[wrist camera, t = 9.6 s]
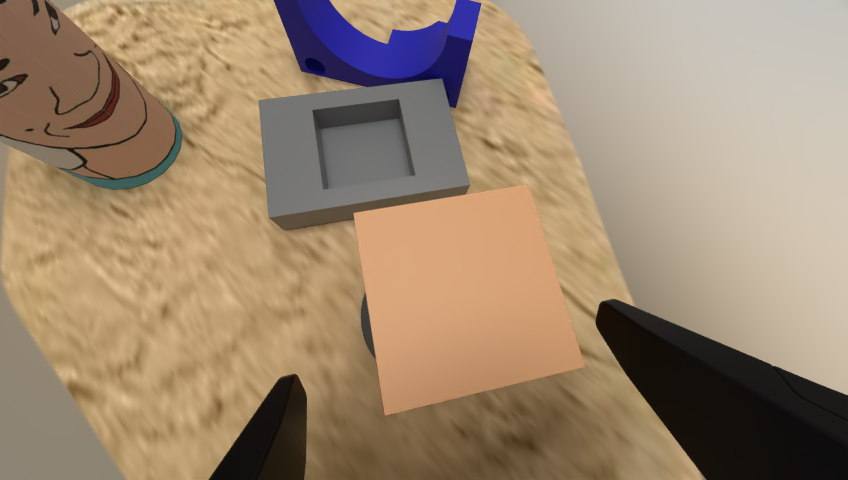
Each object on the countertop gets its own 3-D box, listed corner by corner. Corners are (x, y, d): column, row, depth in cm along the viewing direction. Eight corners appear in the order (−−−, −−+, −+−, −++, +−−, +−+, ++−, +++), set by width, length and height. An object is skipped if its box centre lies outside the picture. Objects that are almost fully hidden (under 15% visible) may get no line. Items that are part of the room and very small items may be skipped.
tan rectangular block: (471, 341, 19) (585, 366, 7) (395, 358, 18) (384, 415, 7) (454, 266, 20) (528, 184, 8) (382, 280, 19) (353, 213, 8)
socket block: (462, 200, 22) (470, 184, 19) (284, 230, 20) (268, 217, 18) (437, 103, 24) (442, 78, 21) (274, 124, 22) (258, 100, 20)
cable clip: (465, 63, 25) (485, -15, 19) (455, 109, 24) (472, 40, 18) (320, 28, 25) (296, -61, 19) (302, 73, 24) (270, -8, 18)
